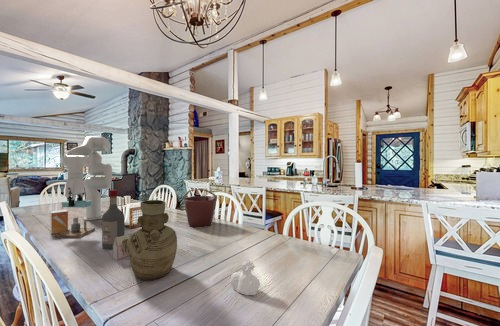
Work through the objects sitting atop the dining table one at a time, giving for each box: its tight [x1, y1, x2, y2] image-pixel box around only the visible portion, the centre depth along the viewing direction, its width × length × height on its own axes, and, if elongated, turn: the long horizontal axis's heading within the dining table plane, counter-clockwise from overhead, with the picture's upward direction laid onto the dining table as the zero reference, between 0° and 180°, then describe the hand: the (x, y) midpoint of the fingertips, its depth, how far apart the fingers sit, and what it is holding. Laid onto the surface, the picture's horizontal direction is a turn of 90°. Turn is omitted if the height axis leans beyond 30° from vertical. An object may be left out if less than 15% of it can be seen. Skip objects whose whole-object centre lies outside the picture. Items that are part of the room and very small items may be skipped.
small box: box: [50, 209, 69, 235], centre depth 147 cm, size 8×6×13 cm
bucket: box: [182, 188, 218, 228], centre depth 167 cm, size 24×22×25 cm
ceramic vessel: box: [122, 199, 178, 281], centre depth 97 cm, size 19×21×30 cm
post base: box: [54, 216, 96, 239], centre depth 143 cm, size 14×14×10 cm
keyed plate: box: [61, 200, 91, 209], centre depth 143 cm, size 14×6×3 cm, turn 90°
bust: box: [230, 259, 261, 296], centre depth 86 cm, size 12×8×11 cm
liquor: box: [101, 189, 125, 250], centre depth 125 cm, size 9×9×30 cm
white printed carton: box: [112, 234, 131, 261], centre depth 112 cm, size 4×7×10 cm, turn 147°
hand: (75, 205), depth 143 cm, fingers closed on keyed plate, 6 cm apart
